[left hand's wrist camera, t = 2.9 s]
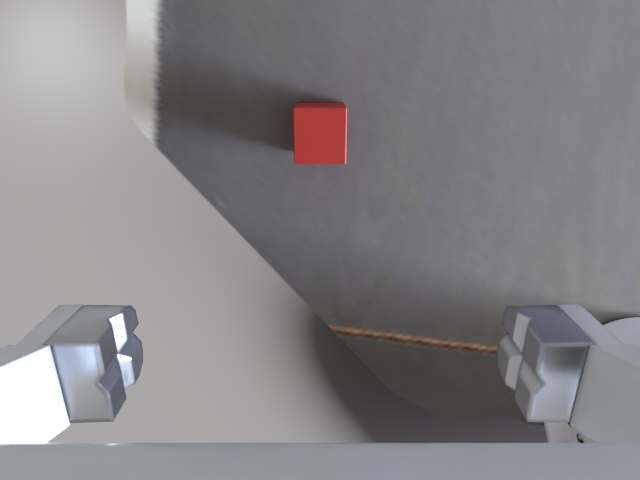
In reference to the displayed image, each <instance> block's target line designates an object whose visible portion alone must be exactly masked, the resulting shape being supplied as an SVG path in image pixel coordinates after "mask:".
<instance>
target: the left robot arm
mask: <svg viewBox="0 0 640 480" xmlns="http://www.w3.org/2000/svg"><path fill="white" fill-rule="evenodd" d="M137 325H138V320H137V315H136V311H135V309H134V308H133V307H132V306H114V305H84V304H83V305H61V306H58V307H57V308H56V309H54V310H53V311H52V312H51V313H50V314H49V315H48V316H47V317H46V318H45V319H44V320H43V321H41V322H40V323H39V324H38V325H37V326H36V327H35V328H34V329H33V330H32V331H31V332H30V333H28V334H27V335H26V336H25V337H24V338H23V339H22V340H21V341H20V342H19V343H18V344H16V345H7V346H5V347H2V348H0V480H640V317H632V318H625V319H620V320H616V321H613V322H610V323H607V324H605V325H602V324H601V323H600V322H599V321H598V320H596V319H595V318H594V317H593V316H592V315H591V314H590V313H589V312H588V311H587V310H586V309H585V308H583V307H582V306H580V305H576V304H573V305H534V306H509V307H506V309H505V311H504V314H503V319H502V325H503V327H504V328H505V330H506V331H507V333H506V334H505V335H504V336H503V337H502V338H501V339H500V341H499V343H498V350H497V360H498V368H499V371H500V375H501V377H502V379H503V381H504V383H505V384H506V385H508V386H509V387H511V388H512V389H514V390H515V394H514V400H515V402H516V403H517V405H518V407H519V409H520V410H521V412H522V414H523V415H524V417H525V419H526V421H527V422H544V427H545V432H546V437H547V442H548V443H47V442H48V441H49V440H51V439H52V438H53V437H55V436H56V435H57V434H59V433H60V432H61V431H62V430H64V429H65V428H67V427H68V426H69V425H70V423H82V422H113V421H114V419H115V417H116V415H117V414H118V412H119V410H120V408H121V407H122V405H123V403H124V402H125V400H126V394H125V390H126V389H128V388H129V387H131V386H132V385H134V384H135V382H136V381H137V379H138V377H139V375H140V371H141V367H142V363H143V349H142V343H141V341H140V339H139V338H138V337H137V336H136V335H135V334H134V333H133V331H134V330H135V328H136V327H137Z"/></svg>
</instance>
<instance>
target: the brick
mask: <svg viewBox="0 0 640 480" xmlns="http://www.w3.org/2000/svg"><path fill="white" fill-rule="evenodd" d="M293 110H294V162H295V164H346V127H347V107H346V106H345V104H344V103H296V105H295V106H294V108H293Z"/></svg>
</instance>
